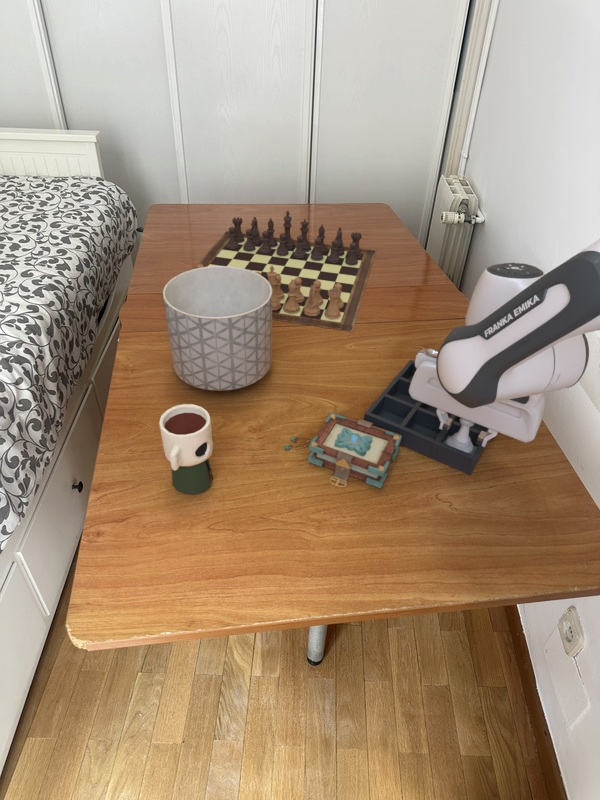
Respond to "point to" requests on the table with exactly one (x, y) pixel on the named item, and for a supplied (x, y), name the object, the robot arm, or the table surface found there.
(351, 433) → the decorative book
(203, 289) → the planter
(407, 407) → the grid
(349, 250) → the chessboard
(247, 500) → the table surface
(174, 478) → the character mug
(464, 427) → the chess piece
